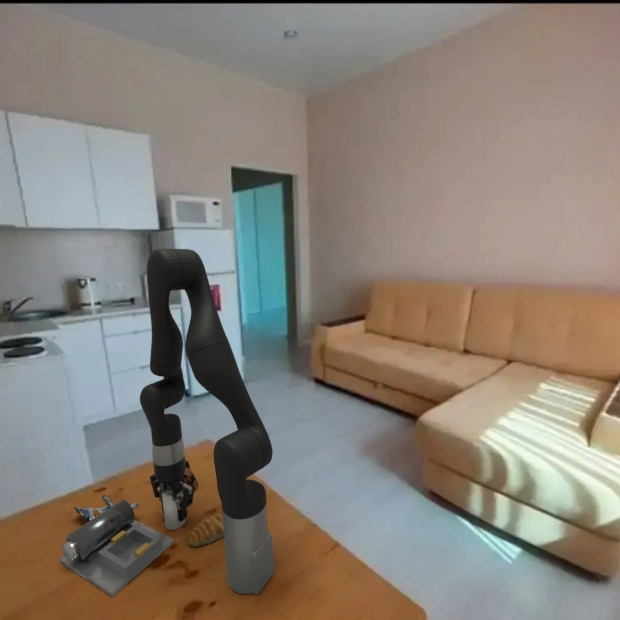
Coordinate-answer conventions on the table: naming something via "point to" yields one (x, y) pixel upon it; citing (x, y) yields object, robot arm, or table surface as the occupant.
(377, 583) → the table surface
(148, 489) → the table surface
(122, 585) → the motor unit
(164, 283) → the robot arm
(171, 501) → the white cylinder roll
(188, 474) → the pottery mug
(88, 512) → the snack package
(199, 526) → the pastry
